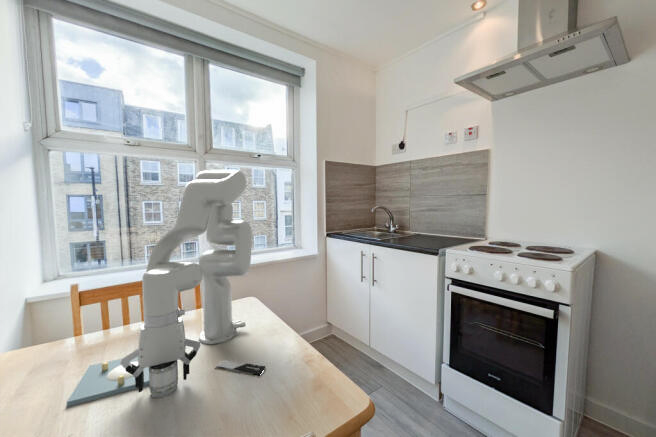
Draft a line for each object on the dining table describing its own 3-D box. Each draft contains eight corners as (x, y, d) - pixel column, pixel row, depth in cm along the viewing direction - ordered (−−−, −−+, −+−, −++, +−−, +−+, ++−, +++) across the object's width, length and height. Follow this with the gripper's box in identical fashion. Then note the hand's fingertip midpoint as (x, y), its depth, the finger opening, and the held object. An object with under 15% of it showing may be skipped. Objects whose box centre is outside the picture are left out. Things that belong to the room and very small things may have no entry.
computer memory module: (214, 367, 77) (223, 359, 80) (214, 370, 77) (223, 362, 81) (260, 375, 73) (267, 366, 77) (260, 378, 73) (267, 369, 77)
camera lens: (162, 401, 64) (161, 370, 64) (143, 395, 66) (142, 365, 66) (184, 384, 70) (183, 356, 70) (166, 379, 72) (165, 352, 71)
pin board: (170, 351, 86) (169, 342, 85) (165, 380, 71) (165, 369, 71) (90, 369, 76) (89, 358, 76) (66, 406, 62) (66, 393, 62)
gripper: (199, 306, 74) (200, 365, 75) (122, 318, 66) (125, 384, 67) (199, 316, 68) (201, 380, 68) (115, 331, 60) (118, 404, 60)
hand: (163, 382), depth 68 cm, fingers open, 9 cm apart
